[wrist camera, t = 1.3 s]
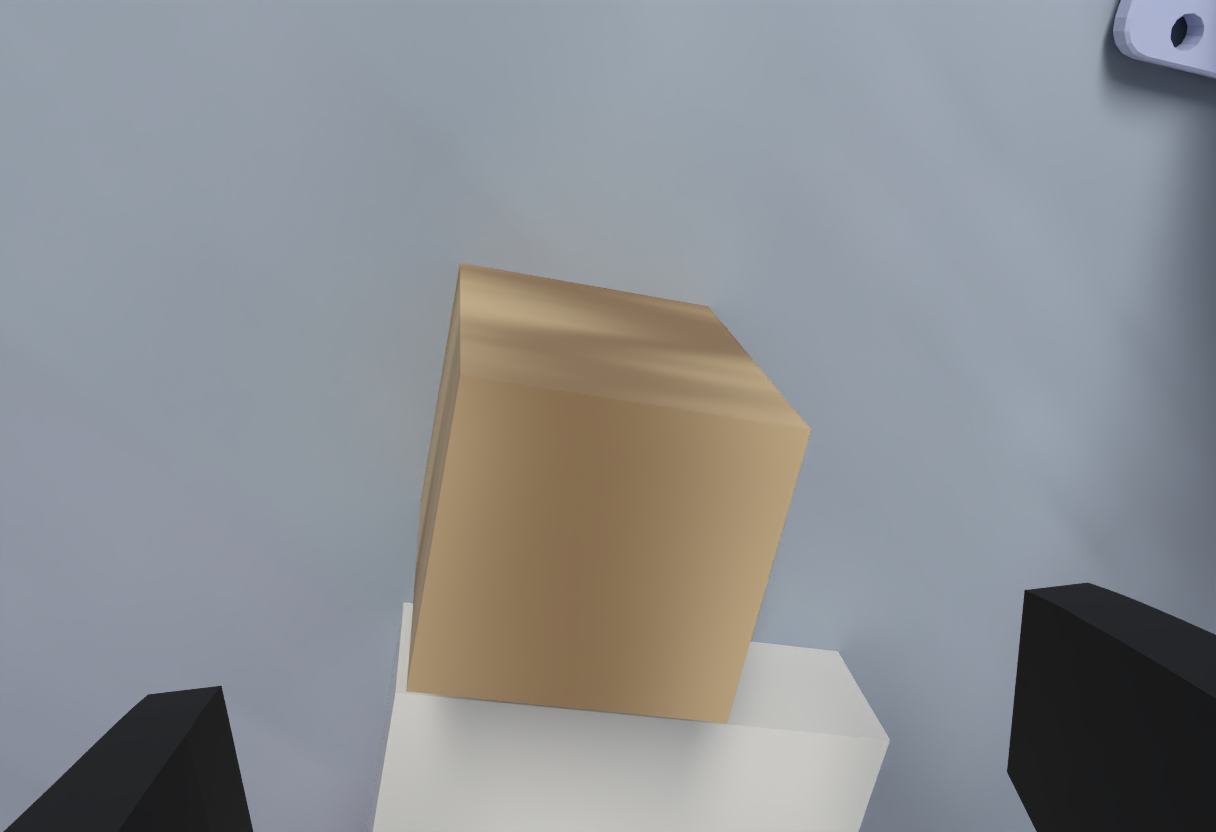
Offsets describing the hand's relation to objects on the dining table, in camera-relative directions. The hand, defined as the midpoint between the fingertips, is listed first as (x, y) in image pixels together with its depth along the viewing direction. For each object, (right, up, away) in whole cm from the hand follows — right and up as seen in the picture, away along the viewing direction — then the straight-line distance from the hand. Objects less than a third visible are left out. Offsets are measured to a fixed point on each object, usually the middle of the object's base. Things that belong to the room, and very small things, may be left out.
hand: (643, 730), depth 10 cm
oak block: (-1, +3, +8) cm, 9 cm away
